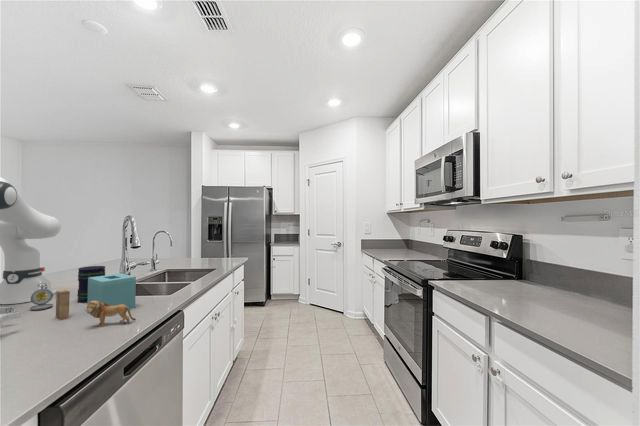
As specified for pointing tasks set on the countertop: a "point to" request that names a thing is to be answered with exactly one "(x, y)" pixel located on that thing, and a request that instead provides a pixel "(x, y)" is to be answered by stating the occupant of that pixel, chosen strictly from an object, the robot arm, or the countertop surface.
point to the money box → (113, 289)
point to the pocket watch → (39, 294)
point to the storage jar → (83, 280)
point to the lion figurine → (107, 311)
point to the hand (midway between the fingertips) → (17, 311)
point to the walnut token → (62, 304)
